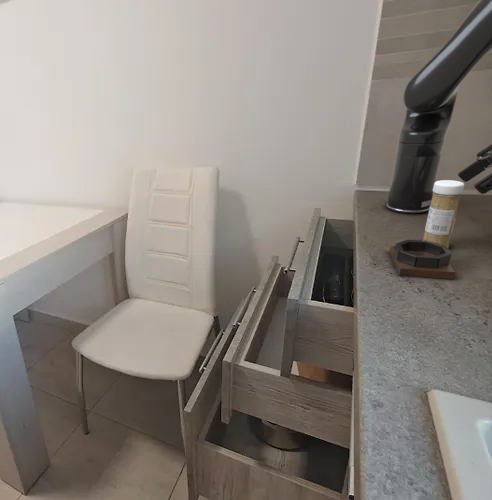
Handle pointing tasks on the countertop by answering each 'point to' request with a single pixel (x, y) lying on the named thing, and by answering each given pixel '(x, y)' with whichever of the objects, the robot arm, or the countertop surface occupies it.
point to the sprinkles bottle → (443, 211)
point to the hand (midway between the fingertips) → (468, 184)
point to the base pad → (422, 259)
